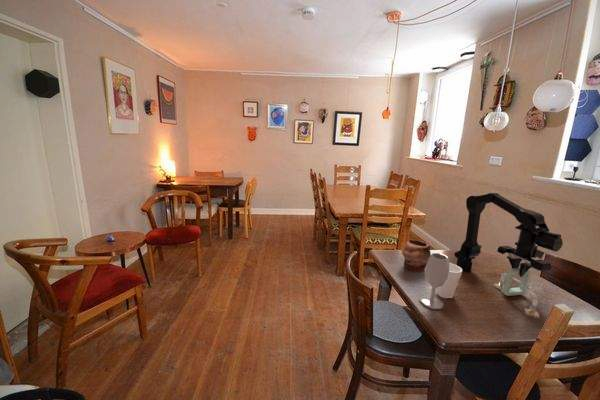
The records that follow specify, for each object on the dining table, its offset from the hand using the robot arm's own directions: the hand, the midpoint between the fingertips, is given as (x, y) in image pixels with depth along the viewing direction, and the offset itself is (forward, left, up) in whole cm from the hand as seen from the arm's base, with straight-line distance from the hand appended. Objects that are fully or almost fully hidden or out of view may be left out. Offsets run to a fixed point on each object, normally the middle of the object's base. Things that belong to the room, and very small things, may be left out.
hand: (518, 275), depth 114 cm
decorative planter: (-41, +2, -10) cm, 42 cm away
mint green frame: (0, 0, -8) cm, 8 cm away
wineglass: (-30, -29, -10) cm, 43 cm away
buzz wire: (0, -4, -10) cm, 10 cm away
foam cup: (-26, -18, -10) cm, 33 cm away
